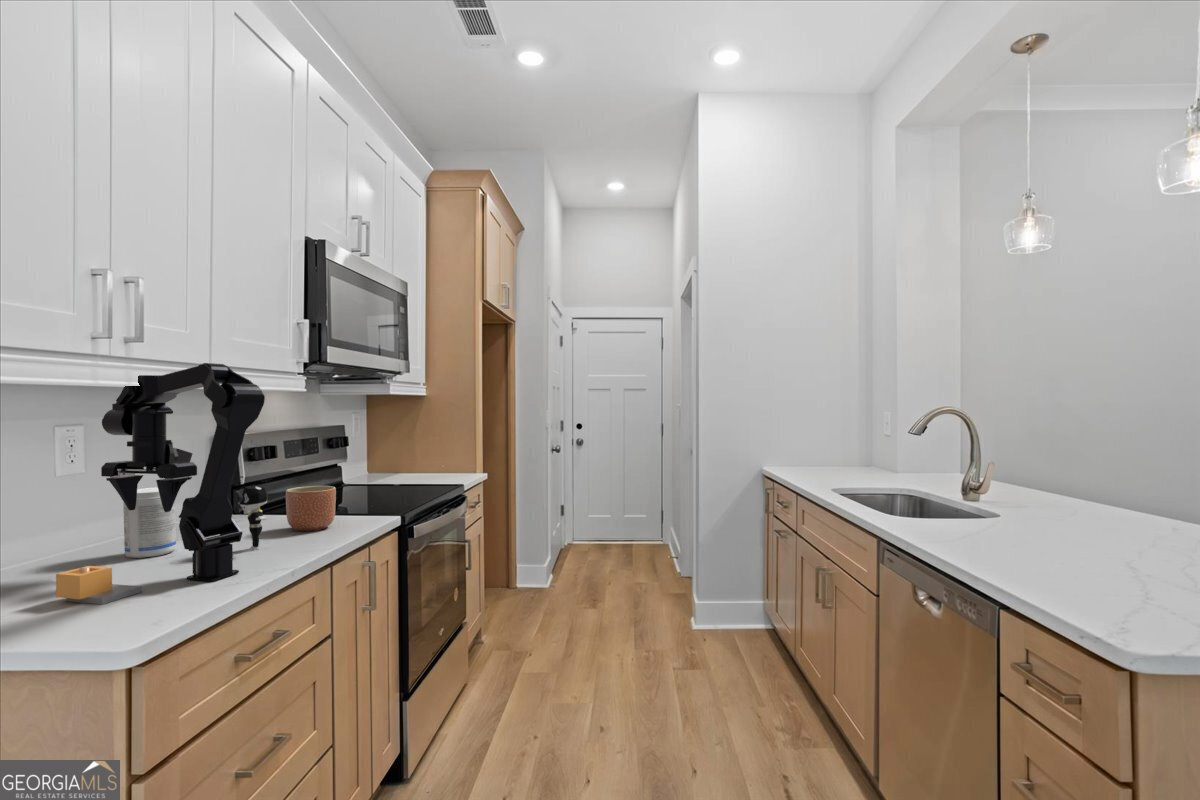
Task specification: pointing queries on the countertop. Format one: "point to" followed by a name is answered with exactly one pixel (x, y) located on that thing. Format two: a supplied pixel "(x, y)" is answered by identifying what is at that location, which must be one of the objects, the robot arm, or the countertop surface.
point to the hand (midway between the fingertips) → (149, 510)
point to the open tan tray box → (83, 582)
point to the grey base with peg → (108, 592)
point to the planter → (310, 507)
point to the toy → (254, 510)
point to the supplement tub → (149, 526)
